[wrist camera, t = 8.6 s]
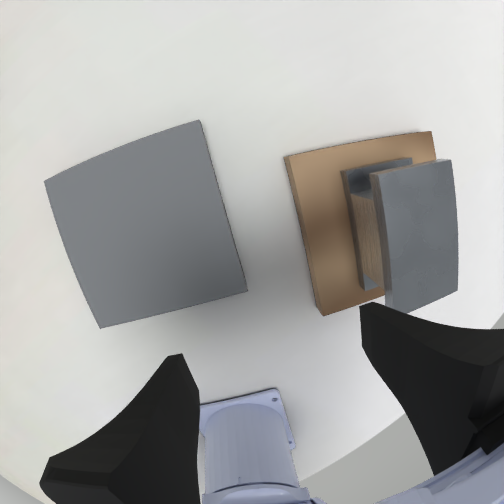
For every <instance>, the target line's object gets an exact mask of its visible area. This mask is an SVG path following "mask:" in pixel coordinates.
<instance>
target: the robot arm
mask: <svg viewBox="0 0 504 504" xmlns="http://www.w3.org/2000/svg"><path fill="white" fill-rule="evenodd" d="M359 308H360V321H361V335H362V347H363V349H364V351H365V353H366V355H367V357H368V359H369V360H370V362H371V364H372V366H373V367H374V368H375V370H376V371H377V373H378V374H379V375H380V377H381V378H382V379H383V381H384V382H385V383H386V385H387V386H388V387H389V389H390V390H391V391H392V393H393V394H394V395H395V397H396V398H397V400H398V401H399V403H400V404H401V406H402V407H403V409H404V411H405V413H406V414H407V416H408V418H409V420H410V422H411V424H412V425H413V428H414V430H415V432H416V434H417V436H418V438H419V440H420V442H421V444H422V447H423V449H424V451H425V454H426V456H427V458H428V461H429V464H430V466H431V469H432V471H433V474H434V477H432V478H430V479H428V480H426V481H424V482H423V483H421V484H419V485H417V486H415V487H413V488H411V489H409V490H407V491H404V492H401V493H399V494H396V495H393V496H391V497H388V498H386V499H384V500H382V501H379V502H376V503H374V504H504V329H470V328H460V327H454V326H448V325H443V324H439V323H435V322H431V321H427V320H424V319H421V318H417V317H414V316H411V315H409V314H406V313H403V312H400V311H398V310H395V309H392V308H390V307H387V306H384V305H382V304H379V303H375V302H371V303H368V304H365V305H362V306H359ZM273 398H275V399H273ZM199 430H200V431H201V433H202V434H203V436H204V437H205V494H202V504H327V503H325V502H324V501H323V500H322V499H320V498H318V497H315V498H310V495H309V492H308V488H306V487H305V488H300V485H299V481H298V477H297V474H296V470H295V466H294V462H293V458H292V454H291V450H292V449H294V448H295V447H296V445H295V442H294V439H293V435H292V432H291V429H290V426H289V423H288V419H287V416H286V413H285V410H284V407H283V403H282V400H281V397H280V394H279V391H278V390H277V389H271V390H267V391H264V392H260V393H256V394H252V395H248V396H243V397H239V398H235V399H230V400H226V401H221V402H216V403H211V404H206V405H201V406H200V399H199V390H198V387H197V385H196V383H195V381H194V379H193V377H192V375H191V372H190V370H189V368H188V366H187V363H186V361H185V359H184V357H183V354H182V353H181V354H176V355H171V356H168V357H167V358H166V359H165V360H164V361H163V363H162V364H161V365H160V367H159V368H158V369H157V370H156V372H155V373H154V374H153V376H152V377H151V378H150V380H149V381H148V382H147V383H146V385H145V386H144V387H143V388H142V390H141V391H140V392H139V393H138V394H137V395H136V396H135V398H134V399H133V400H132V401H131V402H130V403H129V404H128V405H127V406H126V407H125V408H124V409H123V410H122V411H121V412H120V413H119V414H118V415H117V416H116V417H115V418H114V419H113V420H111V421H110V422H109V423H108V424H106V425H105V426H104V427H102V428H101V429H100V430H99V431H97V432H96V433H95V434H93V435H92V436H90V437H88V438H87V439H85V440H84V441H82V442H80V443H79V444H77V445H75V446H73V447H71V448H69V449H67V450H65V451H63V452H61V453H59V454H56V455H54V456H52V457H50V458H49V460H48V463H47V465H46V467H45V470H44V472H43V475H42V477H41V480H40V483H39V484H40V487H41V489H42V490H43V492H44V493H45V494H46V495H47V496H48V497H49V498H50V499H51V500H52V501H54V502H55V503H56V504H201V503H200V495H199V486H198V473H197V449H198V435H199Z"/></svg>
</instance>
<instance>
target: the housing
mask: <svg viewBox="0 0 504 504" xmlns="http://www.w3.org/2000/svg"><path fill="white" fill-rule="evenodd" d="M340 174H341V179H342V183H343V188H344V193H345V198H346V204H347V209H348V214H349V220H350V226H351V232H352V238H353V244H354V251H355V257H356V265H357V272H358V280H359V286H360V287H361V288H362V289H363V290H364V291H367V290H370V289H373V288H376V287H379V286H380V287H381V288H382V289H383V290H384V291H385V306H387V307H390V308H392V309H395V310H398V311H400V312H403V313H406V314H407V313H409V312H411V311H414V310H416V309H418V308H421V307H423V306H425V305H427V304H430V303H432V302H434V301H436V300H438V299H441V298H443V297H445V296H447V295H449V294H451V293H453V292H455V291H457V290H458V224H457V208H456V196H455V186H454V177H453V170H452V163H451V160H448V159H437V160H432V161H427V162H422V163H417V164H413V161H412V158H410V157H403V158H398V159H393V160H387V161H382V162H378V163H373V164H368V165H363V166H359V167H354V168H349V169H345V170H340Z"/></svg>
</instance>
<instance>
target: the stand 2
mask: <svg viewBox="0 0 504 504" xmlns="http://www.w3.org/2000/svg"><path fill="white" fill-rule="evenodd" d="M403 157H410V158H412V161H413V164H417V163H422V162H427V161H432V160H436V154H435V148H434V143H433V137H432V132H431V131H427V132H416V133H409V134H402V135H395V136H389V137H382V138H376V139H370V140H365V141H359V142H353V143H348V144H343V145H338V146H333V147H328V148H323V149H318V150H313V151H309V152H304V153H300V154H295V155H291V156H287V157H284V160H285V164H286V168H287V172H288V176H289V180H290V184H291V188H292V193H293V197H294V201H295V205H296V210H297V214H298V218H299V223H300V227H301V232H302V236H303V241H304V245H305V250H306V255H307V260H308V264H309V269H310V274H311V279H312V284H313V289H314V294H315V300H316V305H317V308H318V310H319V311H320V313H321V314H322V316H326V315H329V314H332V313H335V312H338V311H341V310H344V309H347V308H350V307H353V306H356V305H359V304H361V303H364V302H367V301H370V300H373V299H375V298H378V297H381V296H384V295H385V291H384V290H383V289H382V288H381V287H380V286H379V287H376V288H373V289H370V290H367V291H364V290H363V289H362V288H361V287H360V286H359V280H358V272H357V265H356V257H355V251H354V244H353V238H352V232H351V226H350V220H349V214H348V209H347V204H346V198H345V193H344V188H343V183H342V179H341V174H340V170H345V169H349V168H354V167H359V166H363V165H368V164H373V163H378V162H382V161H387V160H393V159H398V158H403Z"/></svg>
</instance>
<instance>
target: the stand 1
mask: <svg viewBox="0 0 504 504" xmlns="http://www.w3.org/2000/svg"><path fill="white" fill-rule="evenodd" d="M44 183H45V187H46V191H47V194H48V198H49V201H50V205H51V208H52V211H53V214H54V218H55V221H56V224H57V227H58V230H59V233H60V236H61V238H62V241H63V244H64V247H65V250H66V252H67V255H68V258H69V260H70V263H71V265H72V268H73V270H74V273H75V275H76V278H77V280H78V282H79V285H80V287H81V289H82V292H83V294H84V296H85V298H86V301H87V303H88V305H89V307H90V309H91V311H92V313H93V316H94V318H95V320H96V322H97V324H98V326H99V328H100V329H101V328H105V327H110V326H114V325H118V324H122V323H127V322H131V321H135V320H139V319H143V318H147V317H151V316H155V315H159V314H163V313H167V312H171V311H175V310H179V309H183V308H187V307H191V306H194V305H198V304H202V303H206V302H210V301H213V300H217V299H221V298H225V297H228V296H232V295H235V294H239V293H243V292H246V291H248V289H247V285H246V281H245V277H244V274H243V270H242V267H241V263H240V260H239V257H238V253H237V250H236V246H235V243H234V239H233V236H232V232H231V229H230V225H229V222H228V218H227V215H226V211H225V208H224V204H223V201H222V197H221V194H220V190H219V187H218V183H217V180H216V176H215V172H214V169H213V165H212V162H211V158H210V155H209V151H208V147H207V144H206V140H205V136H204V133H203V129H202V125H201V122H200V120H196V121H193V122H189V123H186V124H183V125H180V126H177V127H173V128H170V129H167V130H164V131H161V132H158V133H155V134H153V135H150V136H147V137H144V138H141V139H139V140H136V141H133V142H131V143H128V144H125V145H123V146H120V147H118V148H115V149H113V150H110V151H108V152H105V153H103V154H101V155H98V156H96V157H94V158H91V159H89V160H87V161H85V162H82V163H80V164H78V165H76V166H74V167H71V168H69V169H67V170H65V171H63V172H61V173H59V174H57V175H55V176H53V177H51V178H49V179H47V180H45V181H44Z"/></svg>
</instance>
